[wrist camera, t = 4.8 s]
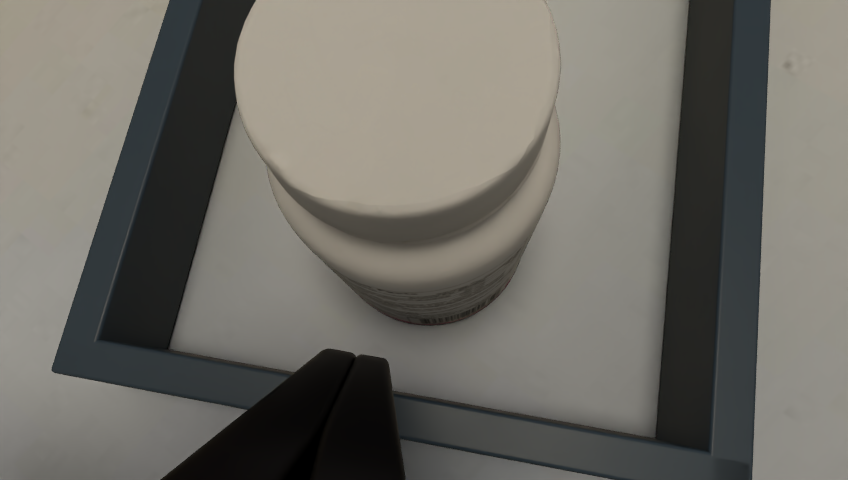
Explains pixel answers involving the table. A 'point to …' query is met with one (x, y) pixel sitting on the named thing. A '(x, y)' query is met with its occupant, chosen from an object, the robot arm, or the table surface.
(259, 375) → the bin
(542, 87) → the pill bottle
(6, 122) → the table surface
